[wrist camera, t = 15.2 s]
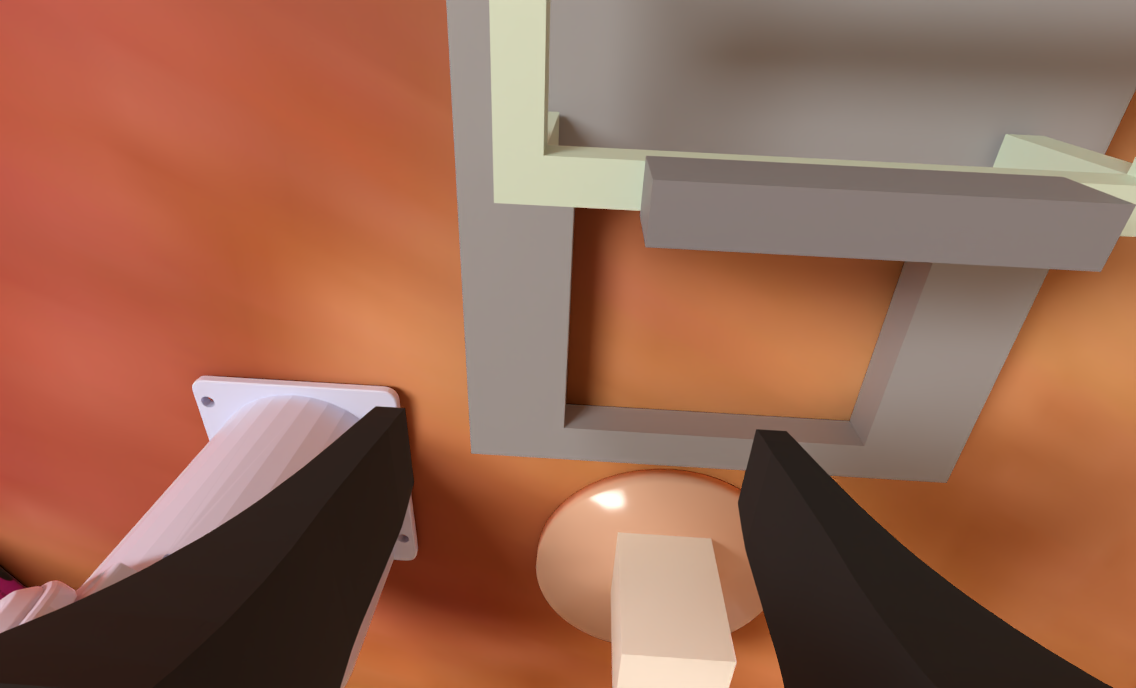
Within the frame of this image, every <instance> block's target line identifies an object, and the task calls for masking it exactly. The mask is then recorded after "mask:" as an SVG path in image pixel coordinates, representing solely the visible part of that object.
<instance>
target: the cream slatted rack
mask: <svg viewBox="0 0 1136 688" xmlns="http://www.w3.org/2000/svg"><path fill="white" fill-rule="evenodd" d="M489 16H490V58H491V100H492V142H493V183H494V203H503V204H522V205H541V206H560V207H579V208H598V209H617V210H635V211H640V219H641V225H642V230H643V236H644V241H645V247H652V248H671V249H689V250H708V251H726V252H745V253H763V254H782V255H800V256H819V257H837V258H856V259H874V260H893V261H911V262H930V263H948V264H967V265H985V266H1004V267H1022V268H1041V269H1059V270H1078V271H1096V272H1101V271H1102V269H1103V267H1104V265H1105V263H1106V261H1107V259H1108V257H1109V255H1110V254H1111V252H1112V250H1113V248H1114V246H1115V244H1116V242H1117V240H1118V238H1119V237H1120V236H1128V237H1136V157H1135V159H1134V161H1133V163H1130V162H1127V161H1124V160H1120V159H1117V158H1114V157H1111V156H1107V155H1104V154H1101V153H1098V152H1094V151H1091V150H1088V149H1085V148H1081V147H1078V146H1075V145H1072V144H1068V143H1065V142H1062V141H1059V140H1055V139H1052V138H1049V137H1046V136H1036V135H1016V134H1006V135H1005V137H1004V140H1003V142H1002V145H1001V147H1000V150H999V152H998V155H997V157H996V160H995V163H994V165H993V167H975V166H955V165H935V164H915V163H896V162H876V161H856V160H836V159H817V158H797V157H777V156H757V155H737V154H718V153H698V152H678V151H658V150H639V149H619V148H599V147H579V146H560V145H558V144H559V112H550V111H548V93H549V46H550V0H489Z"/></svg>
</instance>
